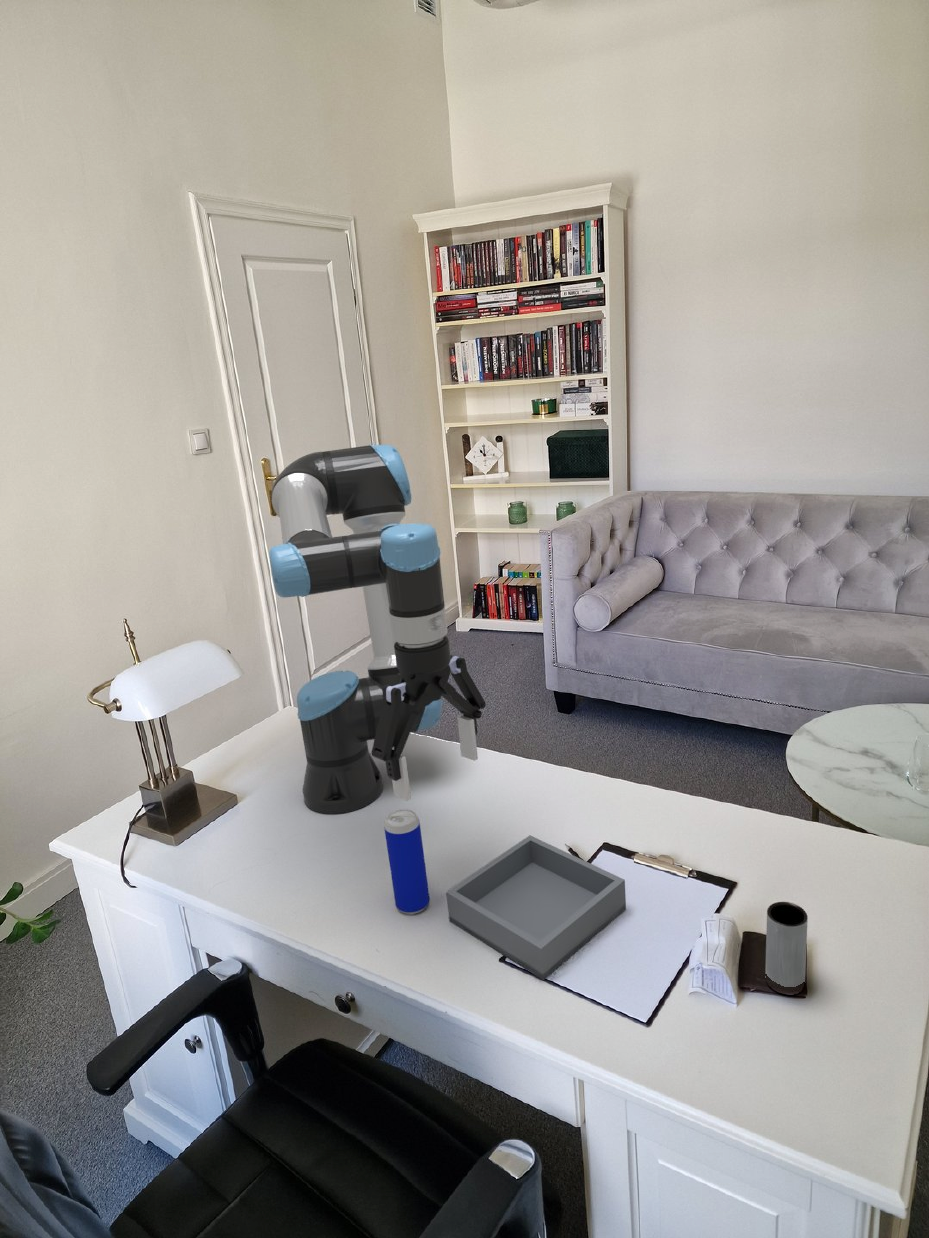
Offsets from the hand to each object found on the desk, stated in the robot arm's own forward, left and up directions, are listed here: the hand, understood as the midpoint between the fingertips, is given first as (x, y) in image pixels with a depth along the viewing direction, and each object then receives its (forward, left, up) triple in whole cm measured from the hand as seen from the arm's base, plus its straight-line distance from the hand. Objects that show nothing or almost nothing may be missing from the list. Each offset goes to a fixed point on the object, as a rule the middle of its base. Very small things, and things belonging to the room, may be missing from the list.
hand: (437, 776), depth 117 cm
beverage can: (-3, -6, -20) cm, 21 cm away
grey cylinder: (+45, +14, -20) cm, 52 cm away
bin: (+13, +4, -20) cm, 25 cm away
